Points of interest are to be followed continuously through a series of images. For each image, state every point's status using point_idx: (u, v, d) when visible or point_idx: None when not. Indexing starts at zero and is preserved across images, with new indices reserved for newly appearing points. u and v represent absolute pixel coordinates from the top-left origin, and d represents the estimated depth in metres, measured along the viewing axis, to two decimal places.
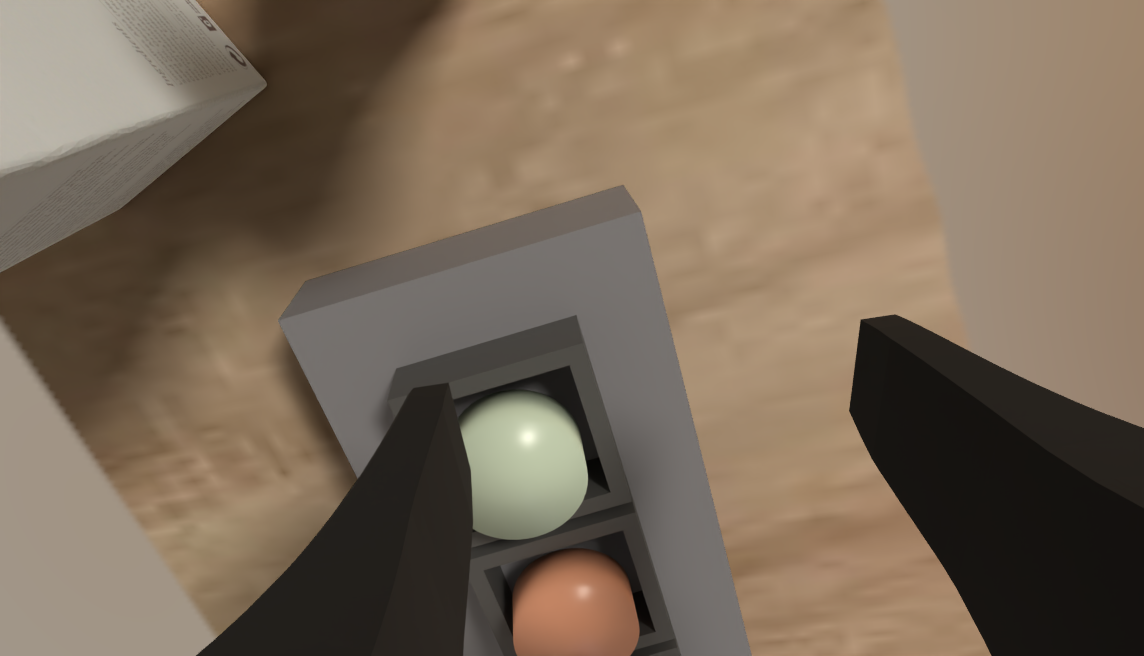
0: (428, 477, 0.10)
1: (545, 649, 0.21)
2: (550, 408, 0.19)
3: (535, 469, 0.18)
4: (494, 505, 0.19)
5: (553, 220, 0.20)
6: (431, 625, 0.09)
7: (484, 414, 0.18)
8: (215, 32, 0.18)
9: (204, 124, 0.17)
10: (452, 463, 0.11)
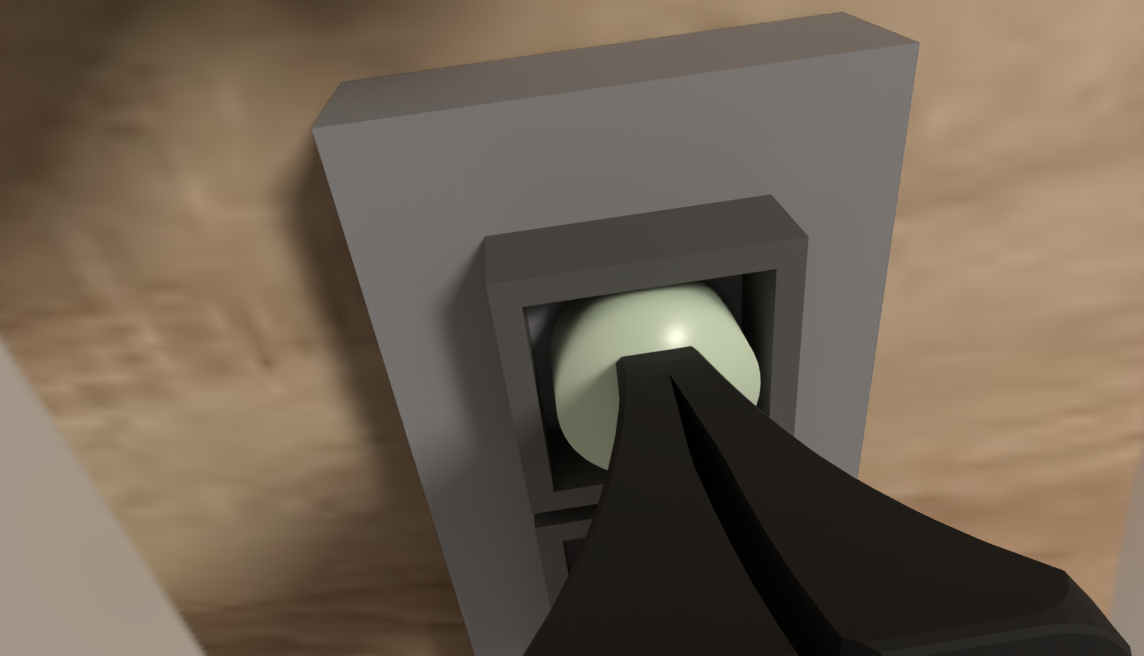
0: None
1: None
2: (717, 300, 0.13)
3: None
4: None
5: (753, 42, 0.13)
6: None
7: (631, 296, 0.12)
8: None
9: None
10: None
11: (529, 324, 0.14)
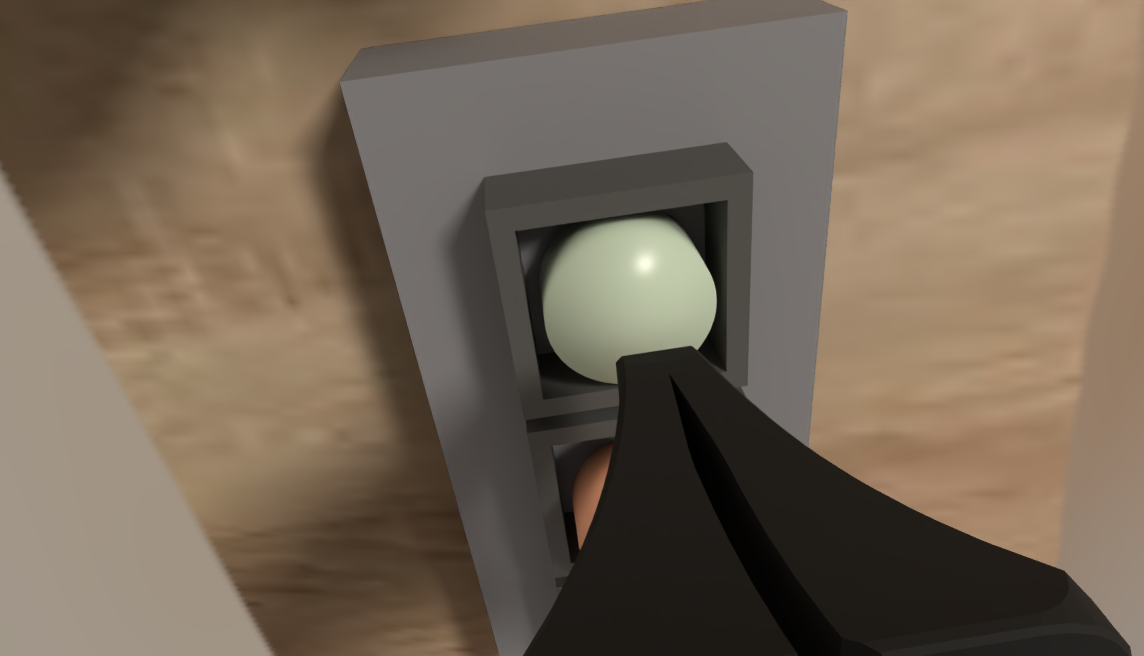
0: None
1: None
2: (680, 231, 0.15)
3: (657, 300, 0.15)
4: (597, 338, 0.15)
5: (712, 13, 0.16)
6: None
7: (607, 224, 0.15)
8: None
9: None
10: None
11: (522, 256, 0.16)
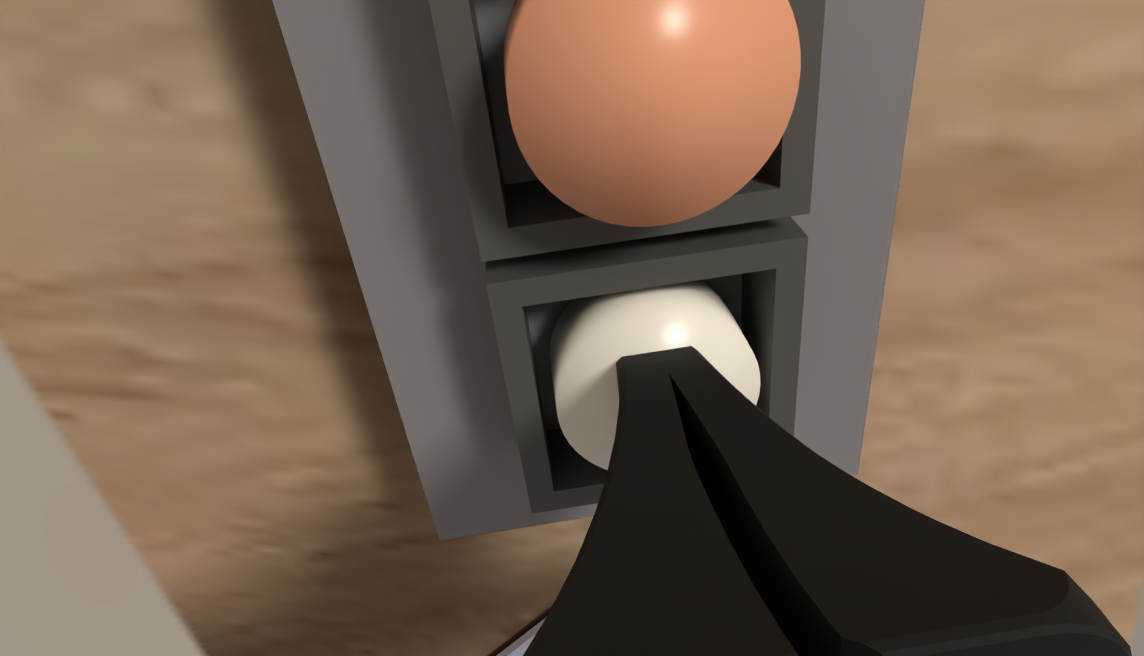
0: None
1: (577, 113, 0.09)
2: None
3: None
4: None
5: None
6: None
7: None
8: None
9: None
10: None
11: None
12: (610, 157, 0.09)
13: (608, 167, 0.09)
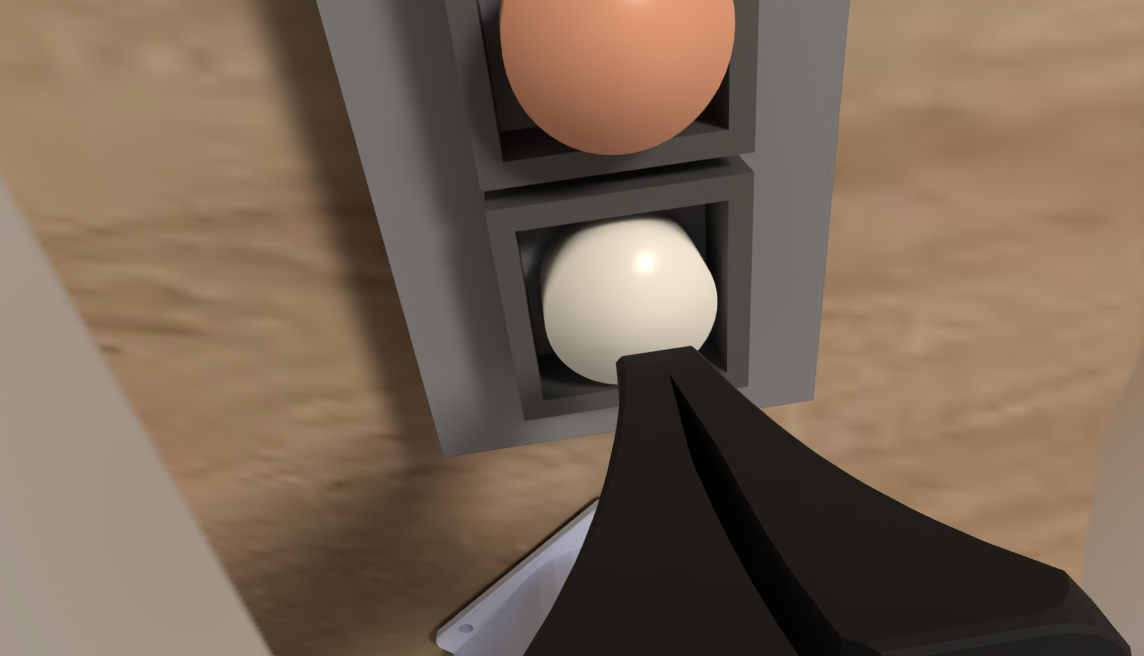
0: (682, 436, 0.10)
1: (557, 59, 0.11)
2: None
3: None
4: None
5: None
6: None
7: None
8: None
9: None
10: None
11: None
12: (584, 95, 0.12)
13: (582, 104, 0.12)
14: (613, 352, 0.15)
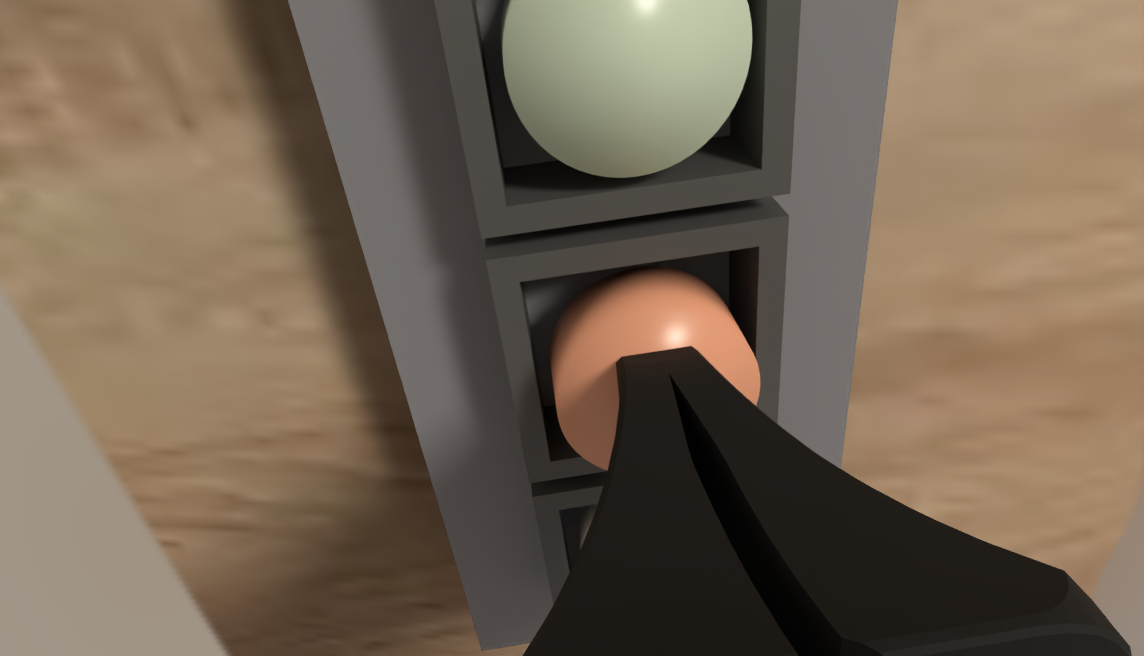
0: (683, 436, 0.10)
1: (605, 415, 0.13)
2: None
3: (666, 35, 0.10)
4: (580, 98, 0.11)
5: None
6: None
7: None
8: None
9: None
10: None
11: (477, 7, 0.12)
12: None
13: None
14: None
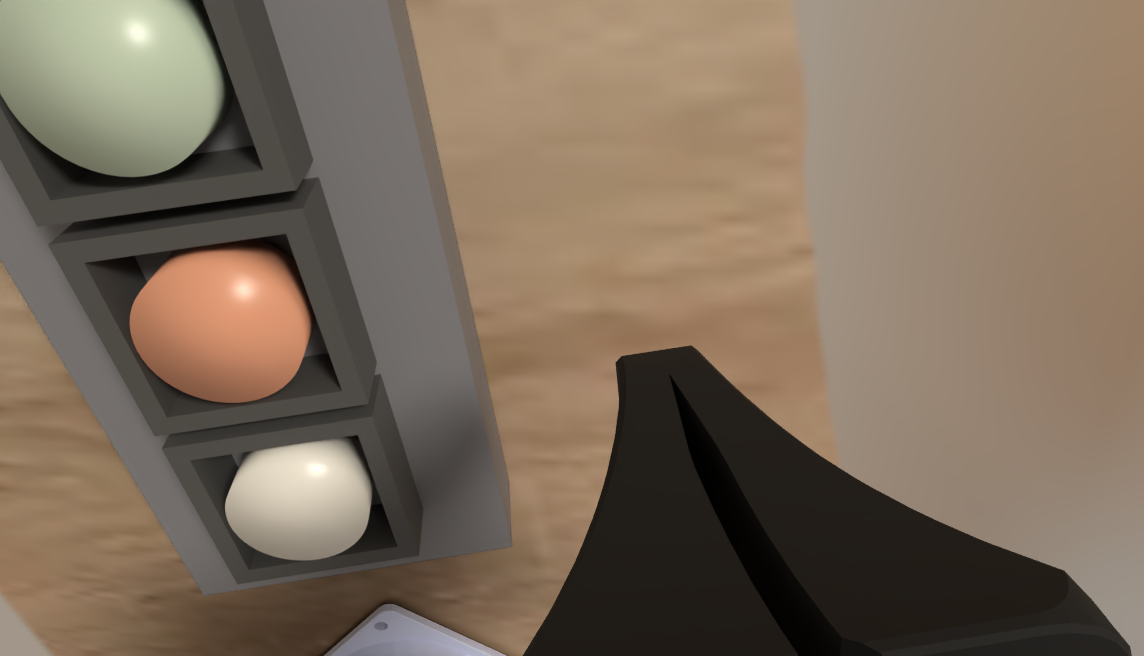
0: None
1: (177, 350, 0.16)
2: None
3: (128, 63, 0.13)
4: (73, 113, 0.13)
5: None
6: None
7: None
8: None
9: None
10: None
11: None
12: (203, 370, 0.16)
13: (204, 374, 0.17)
14: (291, 539, 0.20)
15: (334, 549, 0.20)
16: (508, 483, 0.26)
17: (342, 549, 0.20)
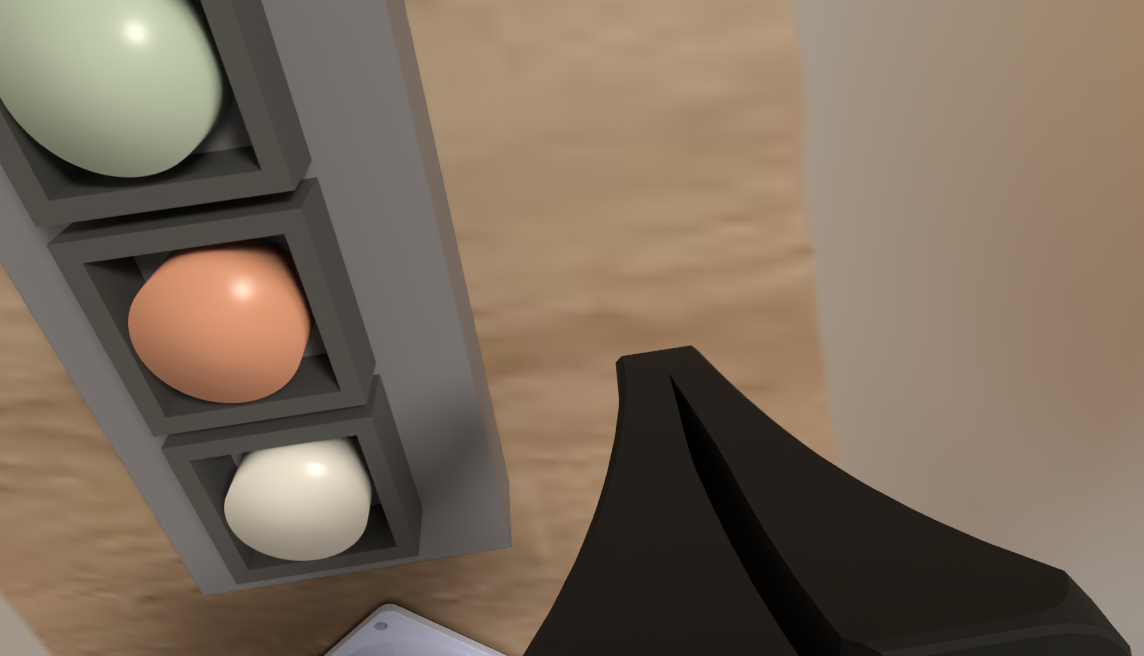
0: None
1: (175, 350, 0.16)
2: None
3: (126, 63, 0.13)
4: (71, 113, 0.13)
5: None
6: None
7: None
8: None
9: None
10: None
11: None
12: (202, 370, 0.16)
13: (202, 375, 0.17)
14: (291, 539, 0.20)
15: (333, 549, 0.20)
16: (508, 483, 0.26)
17: (341, 549, 0.20)
